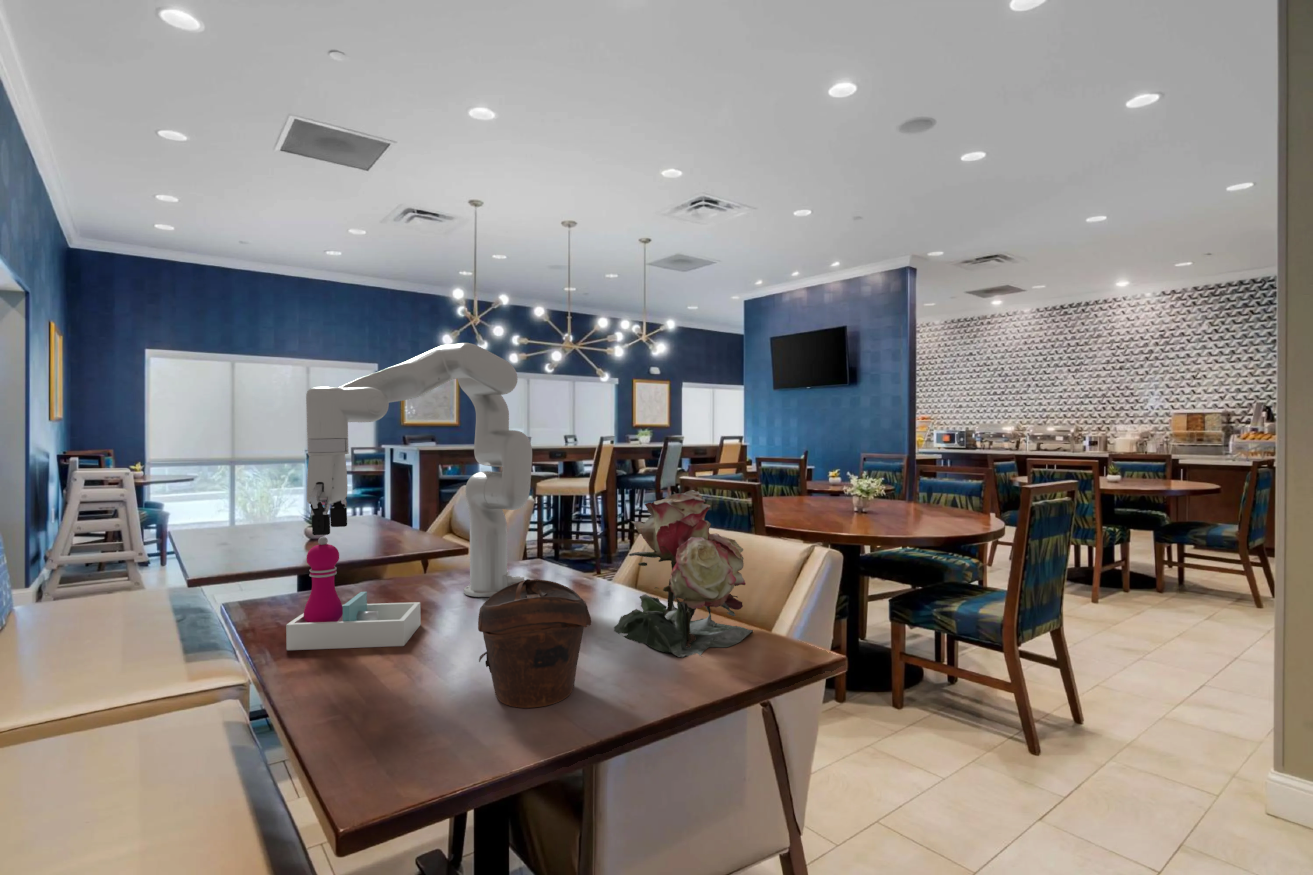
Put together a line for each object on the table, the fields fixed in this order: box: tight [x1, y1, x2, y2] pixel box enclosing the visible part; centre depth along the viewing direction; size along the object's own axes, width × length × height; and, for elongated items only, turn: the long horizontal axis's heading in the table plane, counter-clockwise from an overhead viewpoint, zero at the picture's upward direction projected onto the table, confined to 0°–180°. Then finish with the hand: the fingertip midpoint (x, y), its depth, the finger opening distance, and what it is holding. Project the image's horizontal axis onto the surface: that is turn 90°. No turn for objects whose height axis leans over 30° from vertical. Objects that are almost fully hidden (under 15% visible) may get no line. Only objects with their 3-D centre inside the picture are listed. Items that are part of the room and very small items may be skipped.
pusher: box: [342, 591, 378, 621], centre depth 138 cm, size 5×11×7 cm, turn 7°
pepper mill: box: [303, 536, 343, 623], centre depth 136 cm, size 7×7×20 cm
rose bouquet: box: [601, 489, 754, 658], centre depth 140 cm, size 26×29×30 cm
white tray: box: [285, 601, 421, 651], centre depth 137 cm, size 22×14×5 cm, turn 97°
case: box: [477, 578, 592, 709], centre depth 109 cm, size 18×20×18 cm
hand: (330, 530), depth 137 cm, fingers open, 9 cm apart
